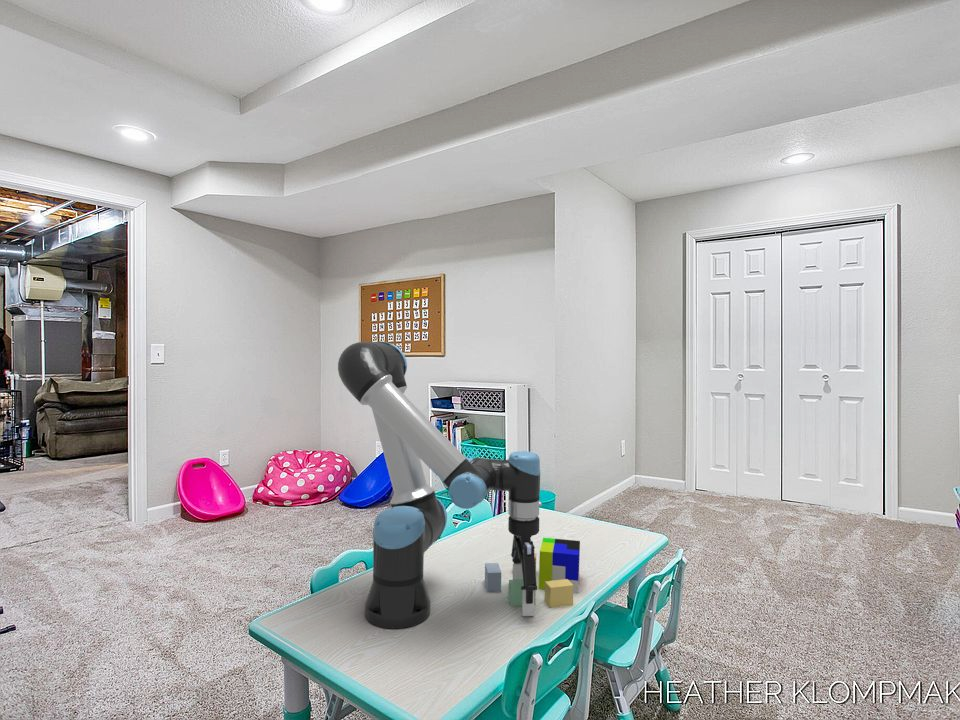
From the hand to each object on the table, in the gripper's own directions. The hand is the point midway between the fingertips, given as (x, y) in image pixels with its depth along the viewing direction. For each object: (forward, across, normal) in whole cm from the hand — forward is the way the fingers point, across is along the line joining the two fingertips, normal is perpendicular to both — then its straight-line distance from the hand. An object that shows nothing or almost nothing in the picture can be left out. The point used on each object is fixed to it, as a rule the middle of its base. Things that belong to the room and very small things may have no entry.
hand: (522, 601), depth 136 cm
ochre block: (0, -1, -9) cm, 9 cm away
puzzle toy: (0, +10, -12) cm, 16 cm away
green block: (0, 0, 0) cm, 0 cm away
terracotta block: (0, +17, -4) cm, 18 cm away
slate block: (0, +9, +6) cm, 11 cm away
